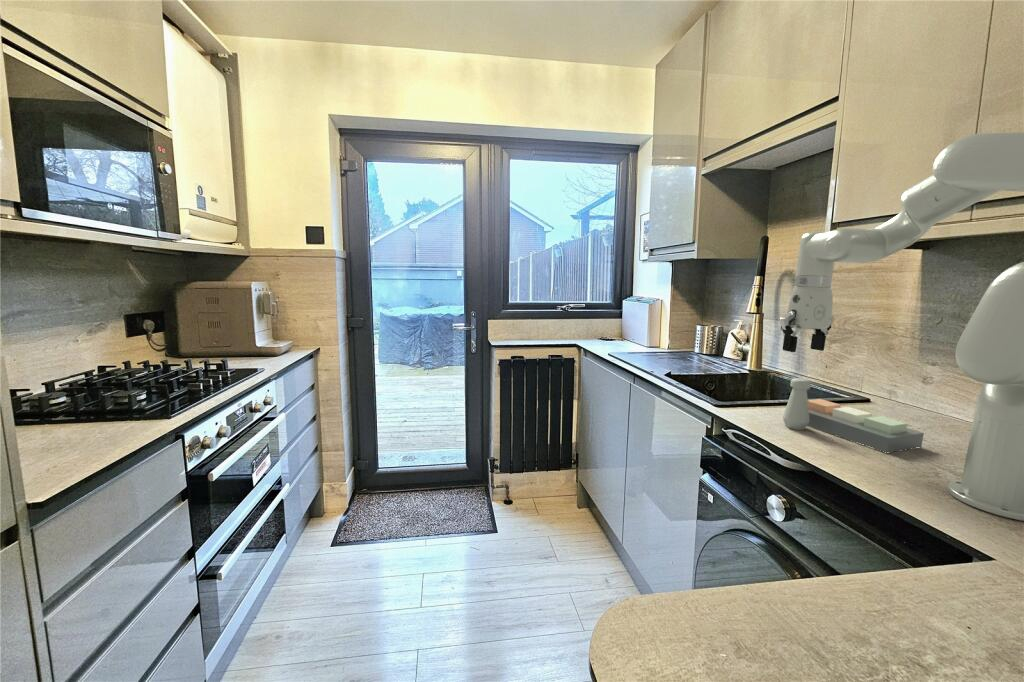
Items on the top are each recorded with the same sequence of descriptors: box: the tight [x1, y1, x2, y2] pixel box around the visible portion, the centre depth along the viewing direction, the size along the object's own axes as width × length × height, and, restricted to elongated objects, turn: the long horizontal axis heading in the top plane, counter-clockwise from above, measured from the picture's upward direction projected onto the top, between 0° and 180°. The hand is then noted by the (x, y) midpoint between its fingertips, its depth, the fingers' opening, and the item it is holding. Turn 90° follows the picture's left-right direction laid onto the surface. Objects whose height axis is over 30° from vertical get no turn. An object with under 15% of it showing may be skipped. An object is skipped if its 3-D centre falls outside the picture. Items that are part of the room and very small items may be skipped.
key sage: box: [864, 415, 908, 435], centre depth 101 cm, size 6×6×4 cm
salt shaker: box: [782, 377, 811, 431], centre depth 111 cm, size 6×6×13 cm
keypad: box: [806, 409, 925, 454], centre depth 109 cm, size 24×12×4 cm, turn 18°
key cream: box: [832, 406, 873, 424], centre depth 109 cm, size 6×6×4 cm
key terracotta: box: [808, 398, 842, 414], centre depth 116 cm, size 6×6×4 cm
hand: (803, 350), depth 109 cm, fingers open, 9 cm apart
